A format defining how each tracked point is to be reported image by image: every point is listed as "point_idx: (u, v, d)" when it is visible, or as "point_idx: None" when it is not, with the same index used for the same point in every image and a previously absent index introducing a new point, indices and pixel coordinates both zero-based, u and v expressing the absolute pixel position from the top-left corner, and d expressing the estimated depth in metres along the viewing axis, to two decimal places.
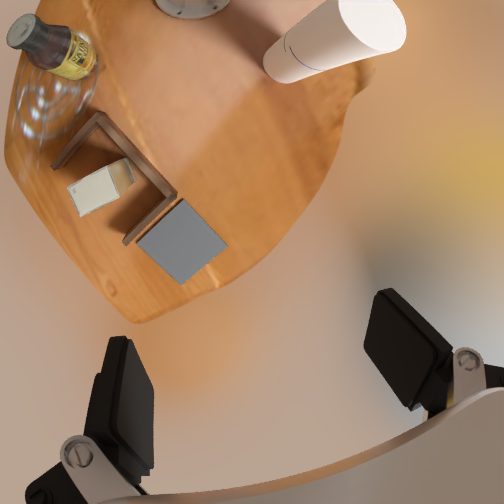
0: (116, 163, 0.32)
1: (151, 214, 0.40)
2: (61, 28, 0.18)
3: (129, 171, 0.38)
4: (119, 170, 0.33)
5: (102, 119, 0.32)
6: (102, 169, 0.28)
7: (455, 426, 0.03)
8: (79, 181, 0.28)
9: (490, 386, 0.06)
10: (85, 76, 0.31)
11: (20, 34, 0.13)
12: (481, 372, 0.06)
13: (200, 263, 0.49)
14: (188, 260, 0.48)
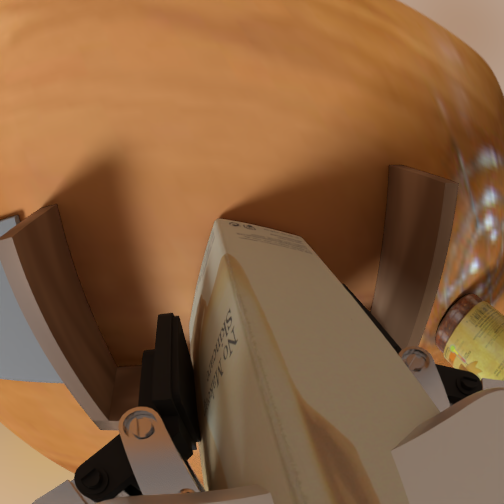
0: None
1: (73, 378, 0.10)
2: None
3: None
4: None
5: None
6: None
7: (455, 426, 0.03)
8: None
9: None
10: (446, 331, 0.18)
11: None
12: (433, 368, 0.07)
13: None
14: None
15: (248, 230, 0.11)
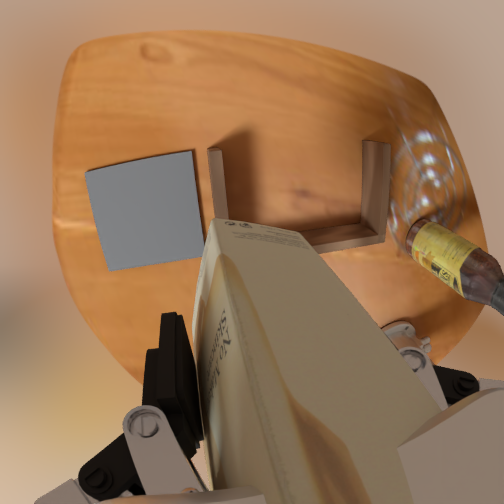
0: None
1: None
2: None
3: None
4: None
5: (373, 242, 0.29)
6: None
7: (455, 426, 0.03)
8: None
9: None
10: (411, 239, 0.34)
11: None
12: (429, 368, 0.07)
13: (102, 222, 0.26)
14: (116, 208, 0.26)
15: (244, 228, 0.11)
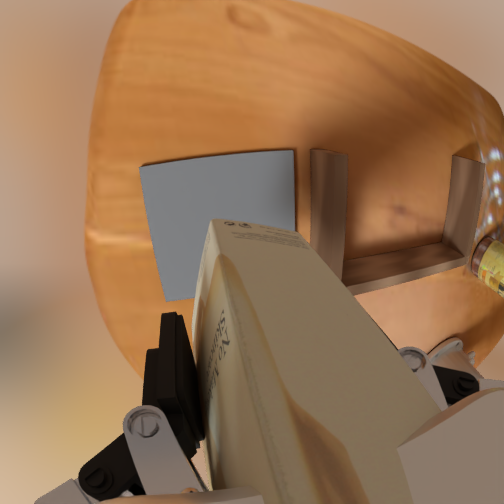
0: None
1: (341, 248, 0.20)
2: None
3: None
4: None
5: (460, 264, 0.24)
6: None
7: (455, 426, 0.03)
8: None
9: None
10: (478, 257, 0.28)
11: None
12: (429, 368, 0.07)
13: (162, 238, 0.20)
14: (184, 220, 0.20)
15: (243, 228, 0.11)
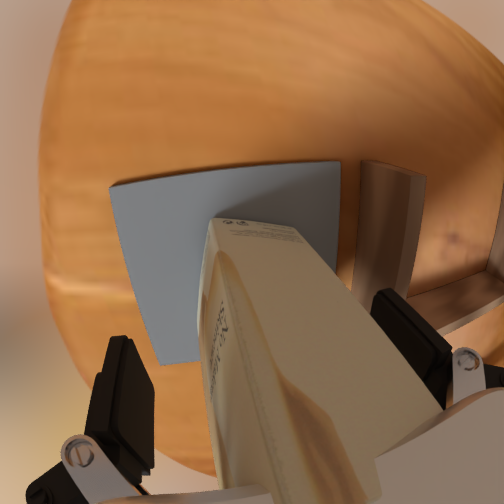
0: None
1: None
2: None
3: None
4: None
5: None
6: None
7: (455, 426, 0.03)
8: None
9: (489, 386, 0.06)
10: None
11: None
12: (481, 372, 0.06)
13: (148, 290, 0.14)
14: (179, 265, 0.14)
15: (241, 226, 0.12)
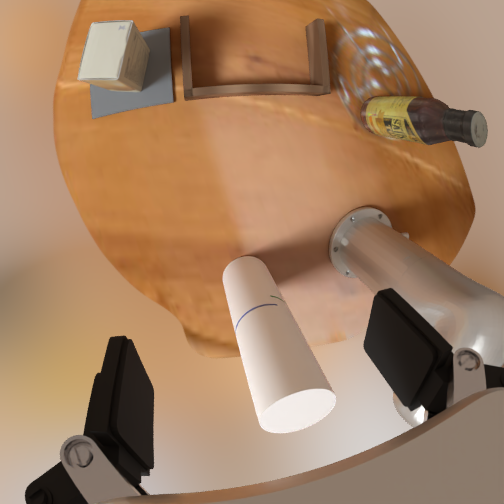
0: (125, 85, 0.23)
1: (188, 61, 0.26)
2: (437, 142, 0.26)
3: None
4: (116, 85, 0.22)
5: (319, 91, 0.31)
6: (117, 71, 0.19)
7: (455, 426, 0.03)
8: (126, 38, 0.17)
9: (490, 386, 0.06)
10: (364, 109, 0.35)
11: (477, 125, 0.19)
12: (481, 372, 0.06)
13: None
14: None
15: None
